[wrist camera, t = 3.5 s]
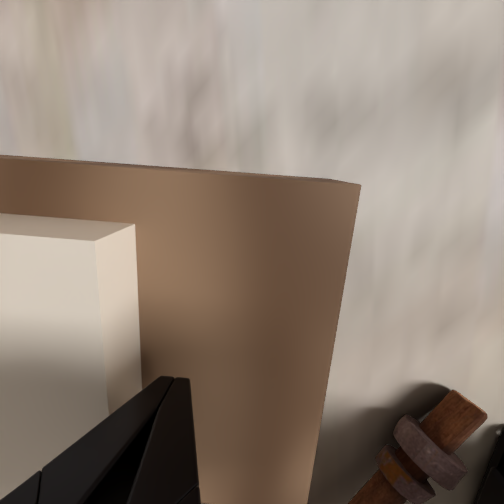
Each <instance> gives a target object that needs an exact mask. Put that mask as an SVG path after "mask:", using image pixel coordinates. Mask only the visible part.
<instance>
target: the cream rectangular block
mask: <svg viewBox="0 0 504 504" xmlns="http://www.w3.org/2000/svg"><path fill="white" fill-rule="evenodd" d="M141 390H142V378H141V354H140V330H139V307H138V283H137V259H136V236H135V224H130V223H117V222H105V221H92V220H80V219H67V218H54V217H42V216H29V215H17V214H4V213H0V500H1V499H2V498H3V497H5V496H6V495H7V494H9V493H10V492H11V491H13V490H14V489H15V488H17V487H18V486H19V485H21V484H22V483H23V482H24V481H26V480H27V479H28V478H30V477H31V476H32V475H33V474H35V473H36V472H37V471H39V470H40V471H41V472H42V468H43V467H44V466H45V465H46V464H48V463H49V462H50V461H52V460H53V459H54V458H55V457H57V456H58V455H59V454H61V453H62V452H63V451H64V450H66V449H67V448H68V447H70V446H71V445H72V444H73V443H75V442H76V441H77V440H79V439H80V438H81V437H82V436H84V435H85V434H86V433H87V432H89V431H90V430H91V429H93V428H94V427H95V426H96V425H98V424H99V423H100V422H102V421H103V420H104V419H105V418H107V417H108V416H109V415H111V414H112V413H113V412H114V411H116V410H117V409H118V408H120V407H121V406H122V405H123V404H125V403H126V402H127V401H128V400H130V399H131V398H132V397H134V396H135V395H136V394H137V393H139V392H140V391H141Z"/></svg>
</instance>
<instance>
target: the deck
mask: <svg viewBox="0 0 504 504" xmlns="http://www.w3.org/2000/svg"><path fill="white" fill-rule="evenodd" d="M360 189H361V185H359V184H354V183H348V182H343V181H338V180H332V179H323V178H309V177H295V176H282V175H268V174H255V173H241V172H227V171H214V170H200V169H187V168H173V167H159V166H146V165H132V164H119V163H105V162H91V161H78V160H64V159H51V158H37V157H23V156H10V155H0V213H4V214H17V215H29V216H42V217H54V218H67V219H80V220H92V221H105V222H117V223H130V224H135V236H136V259H137V283H138V307H139V330H140V354H141V378H142V390H143V389H144V388H145V387H146V386H148V385H149V384H150V383H152V382H153V381H154V380H155V379H157V378H158V377H159V376H173V377H174V378H176V377H184V378H189V379H190V383H191V395H192V406H193V418H194V429H195V441H196V453H197V464H198V476H199V488H200V497H201V503H207V504H307V501H308V495H309V489H310V484H311V478H312V472H313V466H314V460H315V454H316V448H317V442H318V437H319V431H320V425H321V419H322V413H323V407H324V401H325V395H326V389H327V384H328V378H329V372H330V366H331V360H332V354H333V348H334V342H335V337H336V331H337V325H338V319H339V313H340V307H341V301H342V295H343V289H344V284H345V278H346V272H347V266H348V260H349V254H350V248H351V242H352V237H353V231H354V225H355V219H356V213H357V207H358V201H359V195H360Z"/></svg>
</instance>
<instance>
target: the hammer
mask: <svg viewBox="0 0 504 504" xmlns="http://www.w3.org/2000/svg"><path fill="white" fill-rule="evenodd" d="M486 419H487V414H486V413H485V412H484V411H483V410H482V409H481V408H479V407H478V406H476V405H475V404H474V403H472V402H471V401H470V400H468V399H467V398H465V397H464V396H463V395H461V394H460V393H459V392H457V391H455V390H451V391H450V392H449V393H448V394H447V395H446V396H445V398H444V399H443V400H442V401H441V402H440V403H439V404H438V405H437V406H436V407H435V408H434V409H433V410H432V411H431V412H430V413H429V415H428V416H427V417H426V418H425V419H424V420H423V421H422V422H421V423H420V422H419V421H417V420H416V419H414V418H413V417H411V416H409V415H407V414H405V415H404V416H403V417H402V418H401V419H400V420H399V421H398V423H397V425H396V427H395V429H394V431H393V435H394V437H395V439H396V440H397V442H398V443H399V445H400V447H399V448H398V449H396V448H395V447H393V446H391V445H385V446H384V447H383V448H382V449H381V450H380V452H379V453H378V454H377V456H376V457H375V459H376V463H377V465H378V467H379V470H378V471H377V472H376V473H375V474H374V475H373V476H372V478H371V479H370V480H369V481H368V482H367V483H366V484H365V485H364V486H363V487H362V489H361V490H360V491H359V492H358V493H357V494H356V495H355V496H354V497H353V498H352V500H351V501H350V502H349V503H348V504H404V503H405V502H406V501H407V500H409V501H410V502H412V503H413V504H422V503H424V502H426V501H427V500H429V499H430V498H432V497H434V496H435V495H436V494H435V491H434V490H433V488H432V487H431V485H430V484H429V482H428V481H427V479H428V478H429V477H431V478H432V479H433V480H434V481H436V482H437V483H438V484H439V485H440V486H442V487H443V488H445V489H447V490H453V489H454V488H455V486H456V485H457V483H458V482H459V480H460V479H461V478H462V477H463V476H464V475H465V474H466V473H467V472H468V471H467V468H466V466H465V465H464V463H463V462H462V461H461V460H460V459H459V458H458V456H457V455H456V454H455V453H454V451H455V450H456V449H457V448H458V447H459V446H460V445H461V444H462V443H463V442H464V441H465V440H466V439H467V438H468V437H469V436H470V435H471V434H472V433H473V432H474V431H475V430H476V429H477V428H478V427H479V426H480V425H482V424H483V423H484V422H485V420H486Z"/></svg>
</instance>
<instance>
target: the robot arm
mask: <svg viewBox="0 0 504 504" xmlns="http://www.w3.org/2000/svg"><path fill="white" fill-rule="evenodd" d="M0 504H201V497H200V488H199V476H198V464H197V453H196V441H195V429H194V418H193V406H192V395H191V383H190V379H189V378H184V377H176V378H174V377H173V376H159V377H158V378H157V379H155V380H154V381H153V382H152V383H150V384H149V385H148V386H146V387H145V388H144V389H143V390H141V391H140V392H139V393H137V394H136V395H135V396H134V397H132V398H131V399H130V400H128V401H127V402H126V403H125V404H123V405H122V406H121V407H120V408H118V409H117V410H116V411H114V412H113V413H112V414H111V415H109V416H108V417H107V418H105V419H104V420H103V421H102V422H100V423H99V424H98V425H96V426H95V427H94V428H93V429H91V430H90V431H89V432H87V433H86V434H85V435H84V436H82V437H81V438H80V439H79V440H77V441H76V442H75V443H73V444H72V445H71V446H70V447H68V448H67V449H66V450H64V451H63V452H62V453H61V454H59V455H58V456H57V457H55V458H54V459H53V460H52V461H50V462H49V463H48V464H46V465H45V466H44V467H43V468H42V472H41V471H40V470H39V471H37V472H36V473H35V474H33V475H32V476H31V477H30V478H28V479H27V480H26V481H24V482H23V483H22V484H21V485H19V486H18V487H17V488H15V489H14V490H13V491H11V492H10V493H9V494H7V495H6V496H5V497H3V498H2V499H1V500H0ZM474 504H504V431H503V432H502V434H501V435H500V438H499V441H498V443H497V446H496V448H495V451H494V453H493V456H492V458H491V461H490V464H489V466H488V469H487V471H486V474H485V476H484V479H483V481H482V484H481V487H480V489H479V492H478V494H477V497H476V499H475V502H474Z"/></svg>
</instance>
